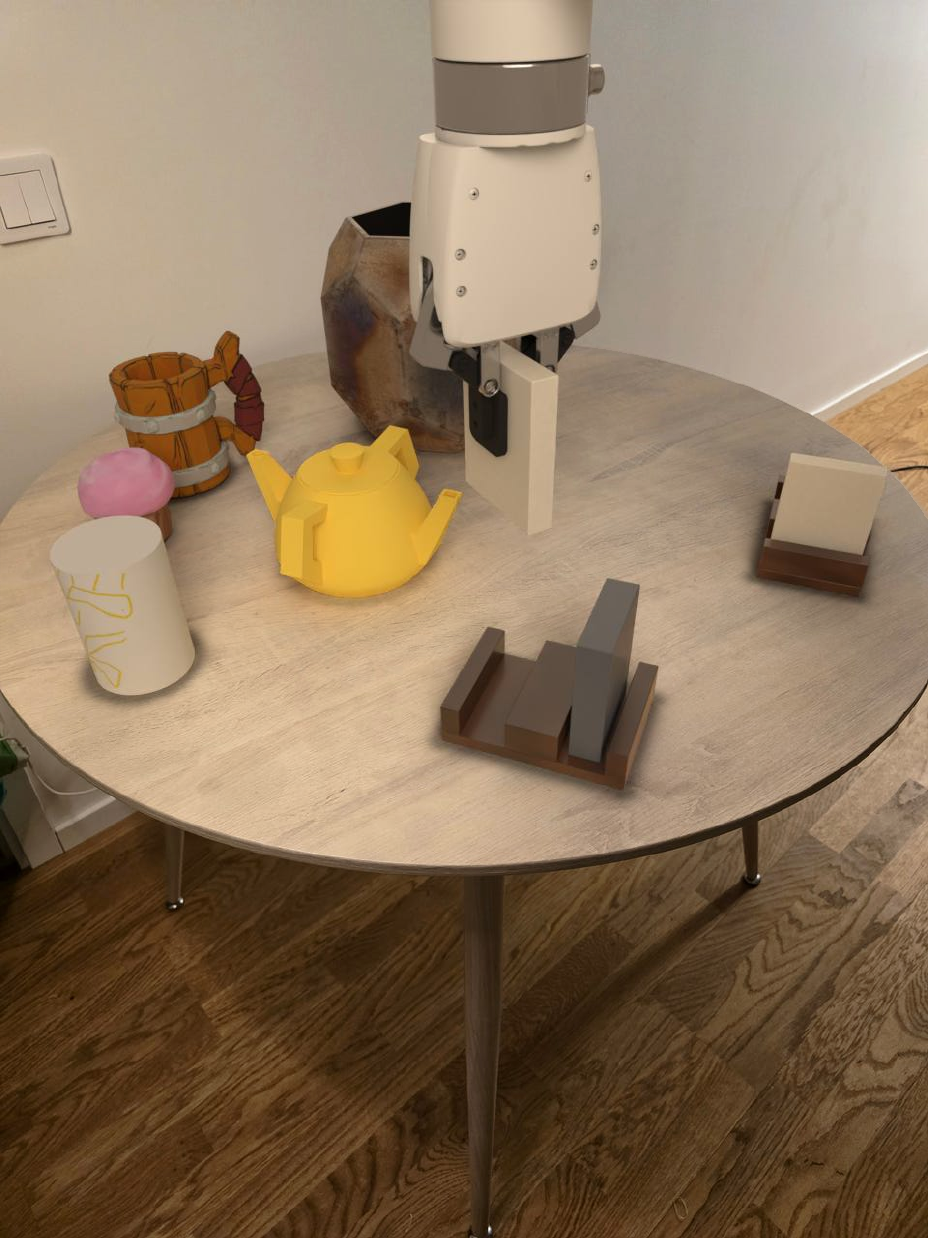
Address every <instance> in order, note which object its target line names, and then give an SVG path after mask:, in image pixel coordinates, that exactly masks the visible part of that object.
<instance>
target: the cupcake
mask: <svg viewBox="0 0 928 1238" xmlns="http://www.w3.org/2000/svg"><path fill="white" fill-rule="evenodd" d="M174 488H175V480H174V476H173V474H172V472H171V470H170V468H169V466H168V465H167V464H166V463H165V462H163V461H162V460H160V459H159V458H158V457H156V456H154V455H153V454H151V453H150V452H148V451H147V450H145V449H142V448H133V447H131V448H129V447H121V448H118V449H114V450H112V451H109V452H106V453H104V454H100V455H98V456H96V457H95V458H93V459H92V460H91V461H90V463H89V464H88V465H87V466H85V467H84V468H83V469H82V470H81V472H80V474H79V477H78V482H77V495H78V499H79V503H80V506H81V508H82V510H83V512H84V513H85V514H86V515H87V516H89V517H90V518H93V520H96V519H100V518H104V517H110V516H122V515H127V516H138V517H142V518H146V519H148V520H151V521H153V522H154V523H155V524H157V525H158V527H159V528H160V530H161V533H162V537H163V540H164V541H165V540H166V539H167V538H168V537H169V536H170V535H171V533H172V531H173V519H172V515H171V510H170V507H169V501H170V500H171V499H172V498H171V496H172V494H173V491H174Z"/></svg>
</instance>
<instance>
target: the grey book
mask: <svg viewBox="0 0 928 1238" xmlns="http://www.w3.org/2000/svg"><path fill="white" fill-rule="evenodd" d="M640 588H641V585H640V584H638V583H633V582H629V581H624V580H619V579H614V578H610V577H607V578H606V580H605V581H604V584H603V586H602V588H601V591H600V593H599V595H598V597H597V600H596V602H595V603H594V606H593V608H592V610H591V613H590V615H589V616H588V619H587V620H586V624H585V626H584V627H583V630H582V632H581V635H580V637H579V639H578V640H577V643H576V645H575V647H576V659H575V671H574V684H573V697H572V710H571V723H570V736H569V749H568V754H569V755H572V756H576V757H579V758H583V759H587V760H590V761H594V762H598V763H600V762H601V759H602V757H603V754H604V751H605V748H606V746H607V743H608V740H609V737H610V735H611V732H612V729H613V726H614V724H615V721H616V718H617V715H618V713H619V710H620V707H621V704H622V702H623V699H624V696H625V693H626V689H627V683H628V681H629V673H630V666H631V665H630V664H631V657H632V650H633V643H634V636H635V635H634V634H635V628H636V627H635V626H636V618H637V613H638V604H639V596H640V590H641V589H640Z"/></svg>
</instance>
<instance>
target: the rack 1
mask: <svg viewBox="0 0 928 1238" xmlns="http://www.w3.org/2000/svg"><path fill="white" fill-rule="evenodd" d="M505 641H506V631H505V630H504V629H502V628H501V629H500V628H495V627H491V626H487V627H486V629H485V630H484V632H483V634H482V635H481V637H480V639H479V641H478V642H477V643H476V646H475V647H474V649H473V650H472V652H471V654H470V656H469V657H468V659H467V660H466V662H465V663H464V666H463V668H462V669H461V671H460V672H459V674H458V676H457V677H456V679H455V681H454V683H453V684H452V686H451V688H450V689H449V691H448V693H447V694H446V696H445V698H444V699H443V701H442V702H441V705H440V706H439V707H440V708H439V711H440V731H441V733H440V734H441V740H442V741H445V742H449V743H452V744H455V745H458V746H462V747H466V748H470V749H473V750H477V751H481V752H484V753H486V754H491V755H494V756H499V757H503V758H506V759H509V760H513V761H515V762H516V761H517V762H521V763H524V764H527V765H530V766H534V767H538V768H542V769H544V770H549V771H552V772H555V773H560V774H563V775H567V776H571V777H574V778H578V779H581V780H585V781H587V782H591V783H595V784H598V785H599V784H600V785H602V786H607V787H610V788H613V789H617V790H620V791H625V788H626V785H627V782H628V779H629V776H630V773H631V769H632V767H633V764H634V760H635V757H636V754H637V751H638V748H639V745H640V741H641V739H642V736H643V732H644V729H645V726H646V723H647V721H648V717H649V715H650V711H651V708H652V705H653V702H654V699H655V693H656V685H657V679H658V673H659V665H656V664H652V663H647V662H643V661H639V662H638V665H637V667H636V670H635V673H634V675H633V677H632V678H633V679H632V681H631V683H629V682H627V689H626V693H625V696H624V699H623V702H622V704H621V707H620V710H619V713H618V715H617V718H616V721H615V724H614V726H613V729H612V732H611V735H610V737H609V740H608V743H607V746H606V748H605V751H604V754H603V757H602V759H601V762H600V763H598V762H594V761H590V760H587V759H583V758H579V757H576V756H572V755H569V754H568V749H569V736H570V723H571V710H572V697H573V684H574V671H575V659H576V646H573V645H571V644H570V645H569V644H565V643H561V642H556V641H551V640H545V642H544V644H543V646H542V648H541V650H540V652H539V654H538V656H537V658H536V660H532V659H529V658H528V659H527V658H524V657H520V656H516V655H512V654H508V653H505V652H506V651H505V649H506V647H505V645H506V644H505Z"/></svg>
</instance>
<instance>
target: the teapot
mask: <svg viewBox="0 0 928 1238" xmlns="http://www.w3.org/2000/svg"><path fill="white" fill-rule="evenodd" d="M246 458H247V462H248V463H249V466H250V468H251V470H252V473H253V475H254V478H255V480H256V483H257V485H258V487H259V490H260V492H261V495H262V497H263V498H264V501H265V504H266V505H267V508H268V510H269V513H270V515H271V517H272V520H273V522H274V525H275V526H274V549H275V555H276V558H277V561H278V562H279V564H280V571H279V572H280V574H279V575H284V576H287V577H290V578H292V579H294V580H295V581H296V582H299V583H300V584H301V585H303V586H305V587H306V588H308V589H310V590H312V591H315V592H316V593H320V594H323V595H325V596H330V597H335V598H345V599H356V598H357V599H358V598H359V599H360V598H368V597H373V596H378V595H382V594H385V593H388V592H392V591H393V590H395V589H398V588H400V587H401V586H403V585H405V584H406V583H408V582H409V581H411V580H412V579H413V578H414V577H415V576H416V575H418V573H420V571H421V570H423V568H424V567H425V566H426V565H427V564H428V563H429V561H430V560H431V559H432V557H433V556H434V554H435V553H436V552H437V551H438V549H439V548H440V546H441V544H442V541H443V539H444V537H445V535H446V532H447V530H448V528H449V527H450V524H451V521H452V519H453V517H454V515H455V513H456V511H457V508H458V506H459V503H460V502H461V500H462V497H463V492H462V491H460V490H459V491H458V490H454V489H450V488H444V489H443V490H442V491H441V492H440V493H439V494H438V499H437V501H436V502H435V503H434V505H433V507H432V506H431V503H430V502H429V500H428V499H429V498H428V497H427V495H426V494H425V492H424V490H423V488H422V487H421V485H420V484H419V482H418V481H417V480H416V476H417V474H418V471H419V468H420V464H419V461H418V458H417V454H416V450H414V448H413V444H412V441H411V438H410V435H409V432H408V429H404V428H400V427H396V426H391V425H389V427H388V428H387V429H386V430H385V431H384V432H383V433H382V434H381V435H380V436H379V437H378V438H377V440H376V439H375V440H374V441H373V442H372V443H371V445H369V446H368V445H362V444H360V443H357V442H341V443H338V444H335V445H333V446H331V447H330V448H327V449H324V450H322V451H319V452H317V453H314V454H313V455H311V456H310V457H308V458H307V459H305V460H304V462H302V463H301V465H300V466H299V467H298V469H297V470H296V471H295V474H294V475H293V477H291V476H290V475H289V474H288V473H287V472H286V470H285V469H283V467H282V466H281V465H280V464H279V463H278V462H277V461H276V460H275V459H274V458H273V456H271V454H270V452H269V451H266V450H262V449H257V448H255V449H254V450H253V451H252V452H250V453H248V454H247V456H246Z"/></svg>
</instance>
